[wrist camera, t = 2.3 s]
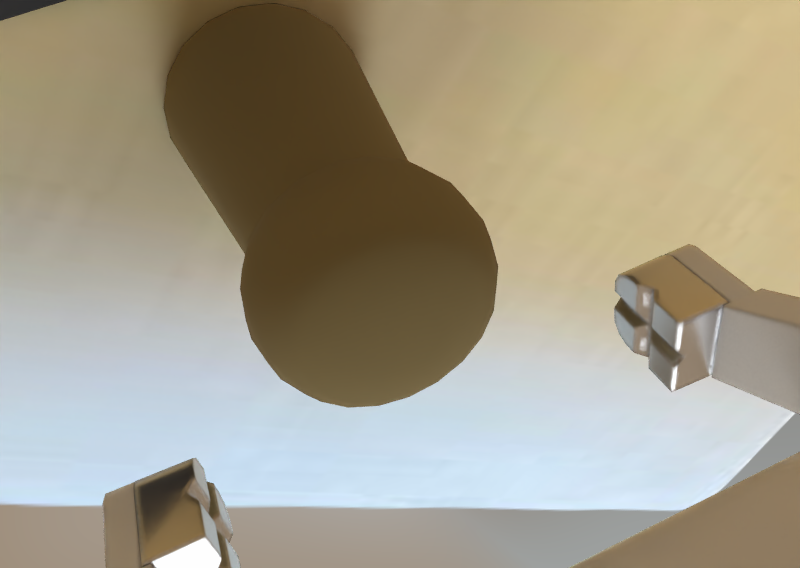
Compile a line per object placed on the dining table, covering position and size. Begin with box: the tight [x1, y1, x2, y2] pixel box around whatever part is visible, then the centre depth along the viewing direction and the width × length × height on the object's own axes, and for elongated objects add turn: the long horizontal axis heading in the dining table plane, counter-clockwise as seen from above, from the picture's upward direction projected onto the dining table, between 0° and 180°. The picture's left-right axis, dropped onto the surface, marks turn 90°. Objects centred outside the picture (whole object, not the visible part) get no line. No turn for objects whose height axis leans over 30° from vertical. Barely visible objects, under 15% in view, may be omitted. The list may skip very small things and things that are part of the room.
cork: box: [164, 3, 498, 407], centre depth 17 cm, size 6×6×11 cm
